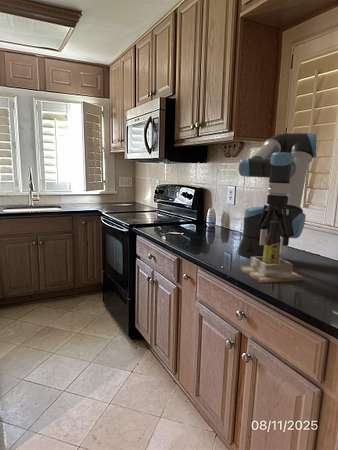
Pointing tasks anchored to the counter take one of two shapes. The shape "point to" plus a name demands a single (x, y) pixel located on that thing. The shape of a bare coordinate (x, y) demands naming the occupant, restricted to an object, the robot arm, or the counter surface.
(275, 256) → the sauce bottle
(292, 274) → the caddy board
